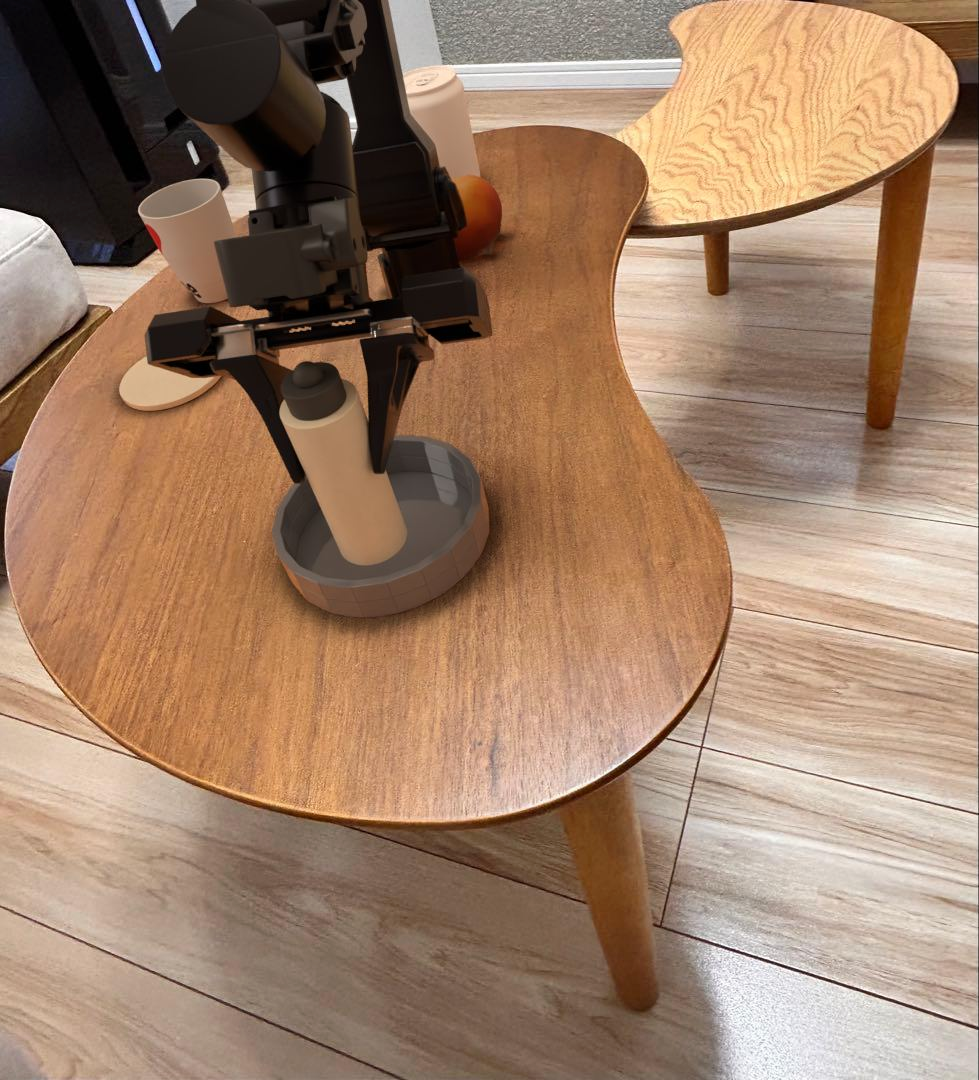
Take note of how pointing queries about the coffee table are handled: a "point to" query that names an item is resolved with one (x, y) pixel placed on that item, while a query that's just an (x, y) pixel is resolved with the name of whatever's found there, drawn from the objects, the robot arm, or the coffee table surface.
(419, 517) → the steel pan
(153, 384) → the tile coaster
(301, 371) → the pepper mill
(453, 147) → the beverage can
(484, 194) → the fruit
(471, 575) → the coffee table surface
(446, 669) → the coffee table surface
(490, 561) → the coffee table surface
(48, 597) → the coffee table surface
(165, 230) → the cup
